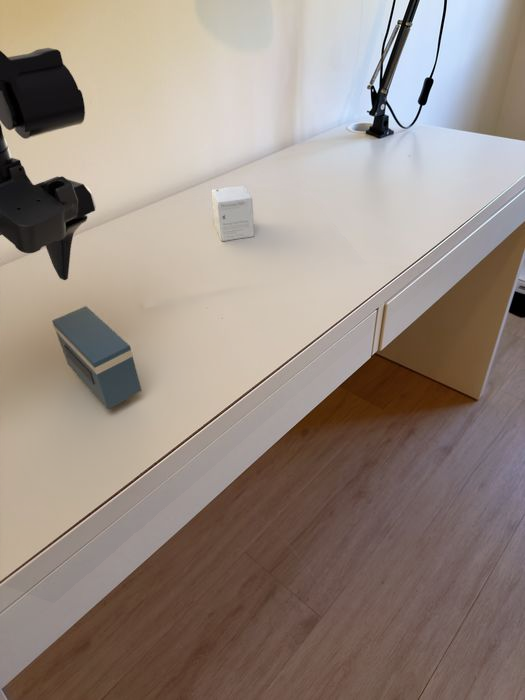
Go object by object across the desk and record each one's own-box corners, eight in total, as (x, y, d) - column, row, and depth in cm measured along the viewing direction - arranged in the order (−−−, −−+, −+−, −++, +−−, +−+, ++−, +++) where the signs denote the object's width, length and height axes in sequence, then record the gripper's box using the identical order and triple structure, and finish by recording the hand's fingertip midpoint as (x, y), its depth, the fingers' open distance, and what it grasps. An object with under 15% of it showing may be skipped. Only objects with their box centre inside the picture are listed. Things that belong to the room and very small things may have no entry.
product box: (221, 242, 92) (216, 202, 87) (215, 227, 97) (210, 188, 92) (255, 237, 93) (252, 197, 88) (247, 222, 98) (245, 184, 93)
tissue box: (142, 390, 63) (130, 345, 59) (107, 409, 61) (92, 364, 57) (99, 349, 70) (86, 305, 66) (66, 364, 68) (50, 320, 63)
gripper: (-85, 207, 38) (-7, 372, 47) (113, 136, 49) (143, 280, 59) (-153, 178, 43) (-70, 331, 53) (41, 120, 54) (79, 254, 64)
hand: (29, 297), depth 57 cm, fingers open, 9 cm apart
